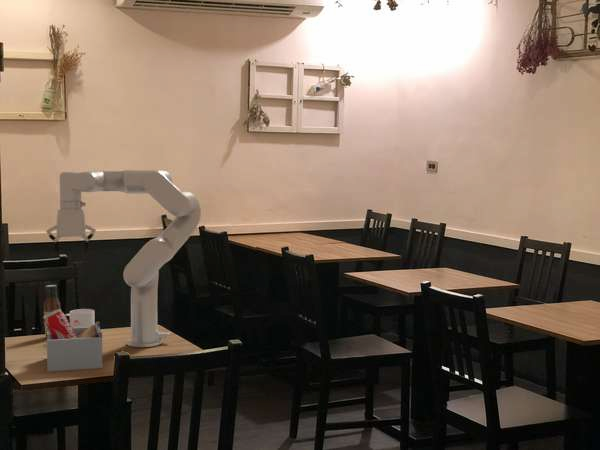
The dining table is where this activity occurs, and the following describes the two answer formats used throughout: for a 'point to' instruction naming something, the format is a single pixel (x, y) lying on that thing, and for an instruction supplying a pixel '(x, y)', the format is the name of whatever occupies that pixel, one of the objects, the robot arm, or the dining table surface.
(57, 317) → the soda can
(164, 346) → the dining table surface
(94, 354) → the bin
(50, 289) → the sauce bottle
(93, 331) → the flap
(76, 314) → the mug
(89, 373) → the dining table surface
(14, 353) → the dining table surface
